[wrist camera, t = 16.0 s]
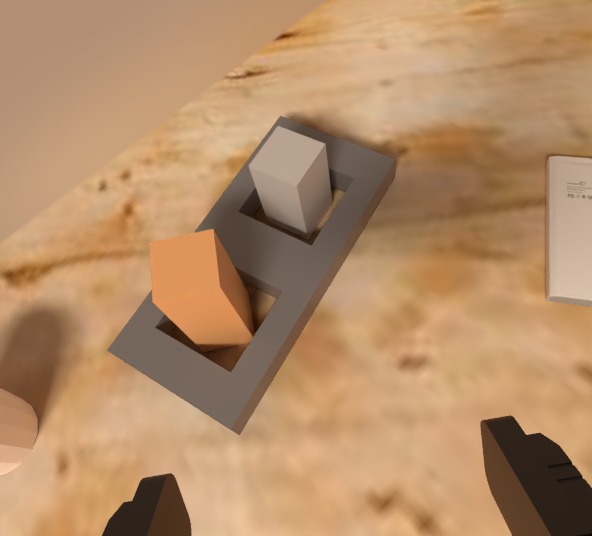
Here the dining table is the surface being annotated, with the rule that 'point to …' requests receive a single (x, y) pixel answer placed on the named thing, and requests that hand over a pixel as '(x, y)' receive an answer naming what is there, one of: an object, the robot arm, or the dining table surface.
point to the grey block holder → (267, 263)
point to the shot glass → (15, 431)
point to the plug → (201, 290)
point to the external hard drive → (569, 230)
